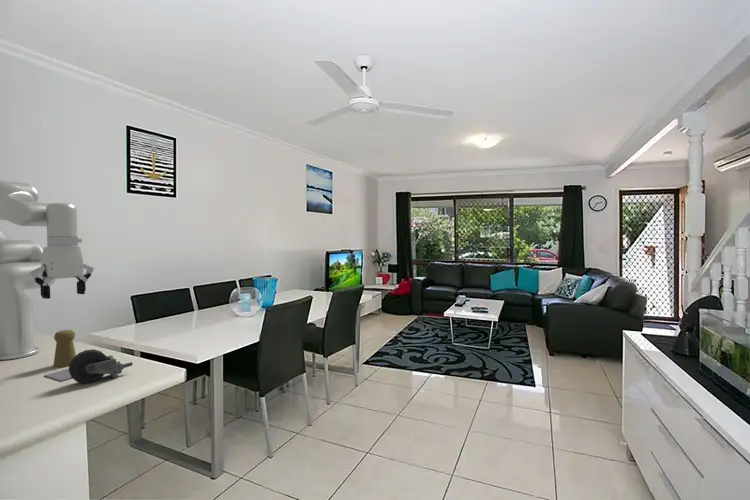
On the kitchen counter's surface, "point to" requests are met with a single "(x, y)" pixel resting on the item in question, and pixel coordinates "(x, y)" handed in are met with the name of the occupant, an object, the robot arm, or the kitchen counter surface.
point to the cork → (64, 348)
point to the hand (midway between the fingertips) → (64, 296)
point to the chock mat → (60, 375)
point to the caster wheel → (94, 366)
